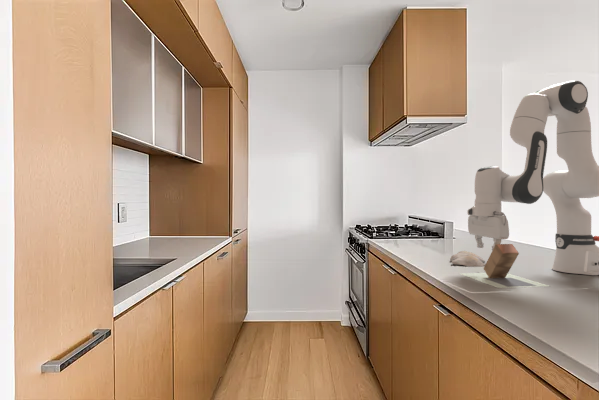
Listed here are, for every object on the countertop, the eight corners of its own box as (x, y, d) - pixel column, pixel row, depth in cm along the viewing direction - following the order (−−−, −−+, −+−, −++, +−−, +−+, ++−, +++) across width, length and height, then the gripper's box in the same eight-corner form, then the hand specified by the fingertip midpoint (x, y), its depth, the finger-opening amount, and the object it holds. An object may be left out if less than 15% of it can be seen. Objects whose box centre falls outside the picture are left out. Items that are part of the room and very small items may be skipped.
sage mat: (503, 273, 155) (503, 272, 155) (550, 287, 131) (550, 285, 131) (458, 274, 153) (458, 273, 153) (498, 289, 129) (498, 287, 129)
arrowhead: (451, 255, 172) (449, 245, 200) (450, 267, 172) (449, 255, 201) (488, 258, 167) (481, 247, 196) (487, 270, 168) (481, 258, 196)
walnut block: (499, 268, 148) (512, 243, 141) (505, 277, 145) (519, 253, 137) (483, 268, 147) (496, 243, 140) (489, 278, 144) (502, 253, 136)
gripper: (514, 212, 140) (514, 253, 140) (480, 210, 160) (480, 245, 160) (496, 212, 139) (496, 253, 139) (464, 210, 159) (464, 246, 159)
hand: (487, 249), depth 150 cm, fingers open, 8 cm apart
